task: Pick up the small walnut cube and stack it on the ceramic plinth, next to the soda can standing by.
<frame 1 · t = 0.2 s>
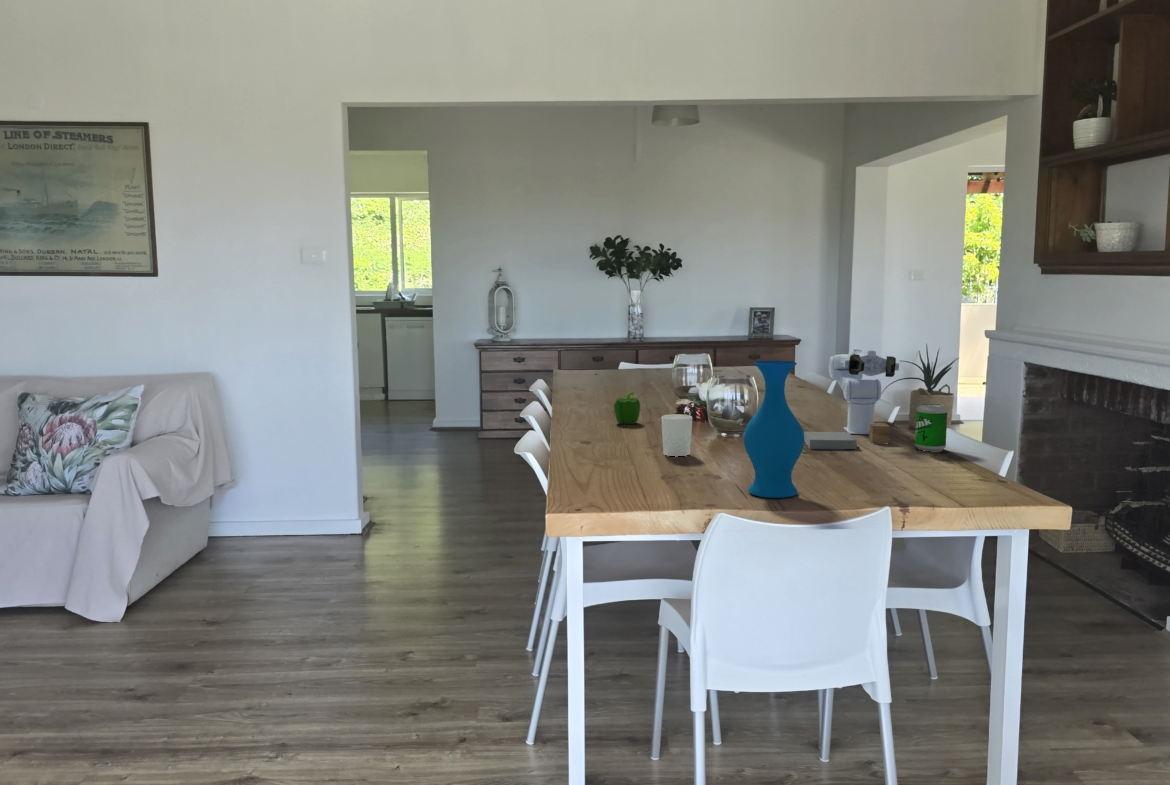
hand: (877, 367, 233), 21 cm above the table, tool horizontal, fingers open, 7 cm apart
bell pepper: (628, 424, 274), on the table
white cup: (676, 455, 226), on the table
soda can: (930, 450, 229), on the table
plinth: (829, 444, 237), on the table
vase: (772, 494, 185), on the table
walnut cube: (878, 442, 240), on the table
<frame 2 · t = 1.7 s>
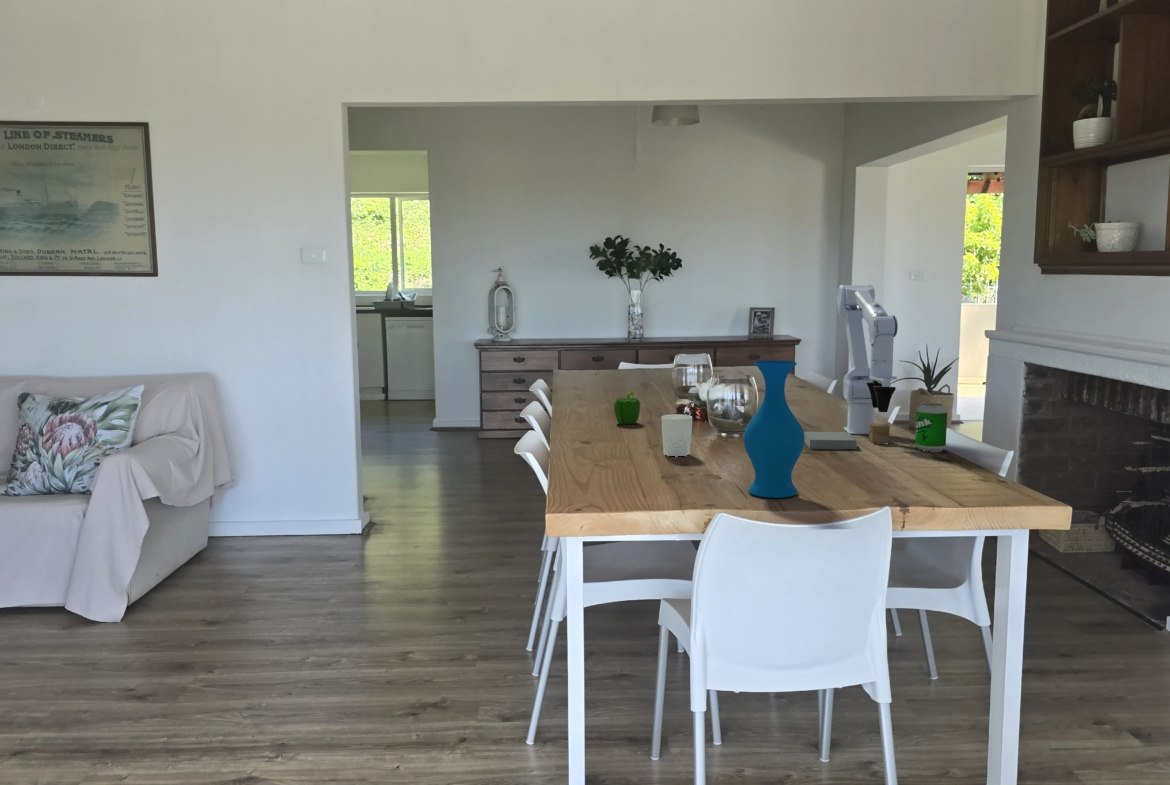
hand: (879, 409, 239), 9 cm above the table, tool pointing down, fingers open, 7 cm apart
nothing on the table moved.
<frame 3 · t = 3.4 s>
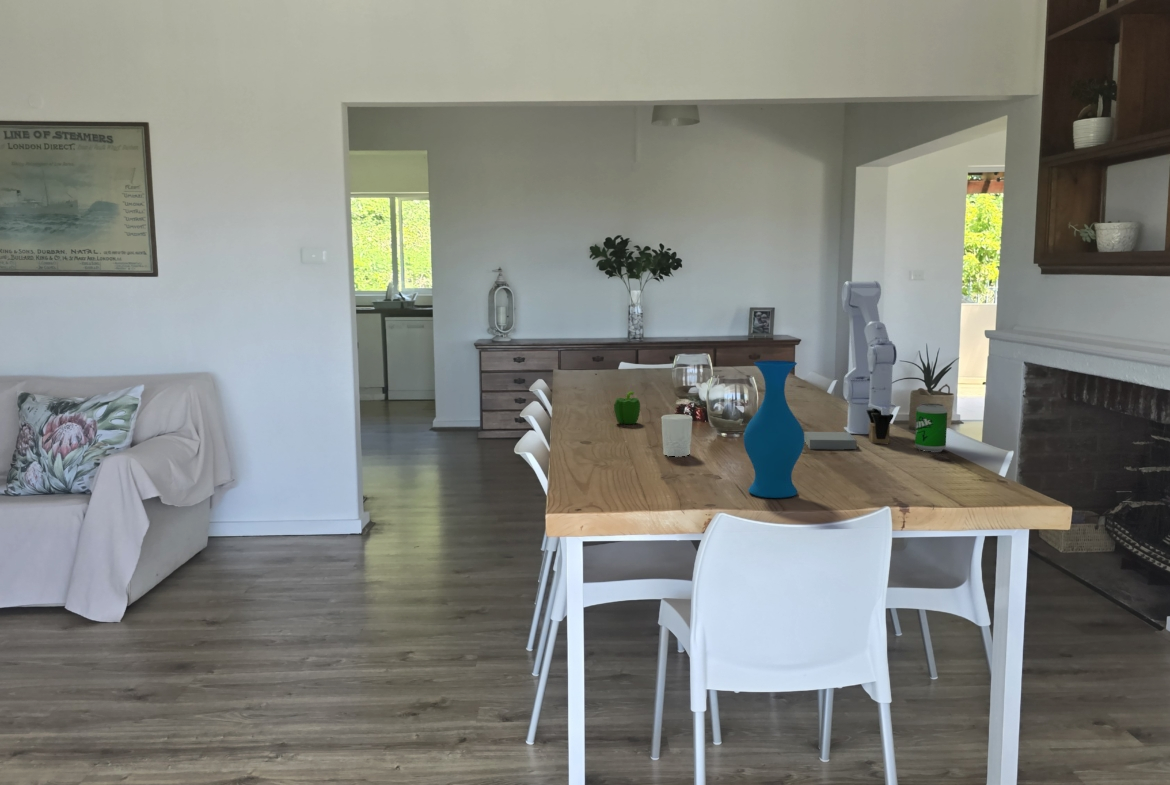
hand: (878, 437, 240), 1 cm above the table, tool pointing down, fingers closed on walnut cube, 4 cm apart
walnut cube: (878, 442, 240), on the table, touching gripper
everything else where it was.
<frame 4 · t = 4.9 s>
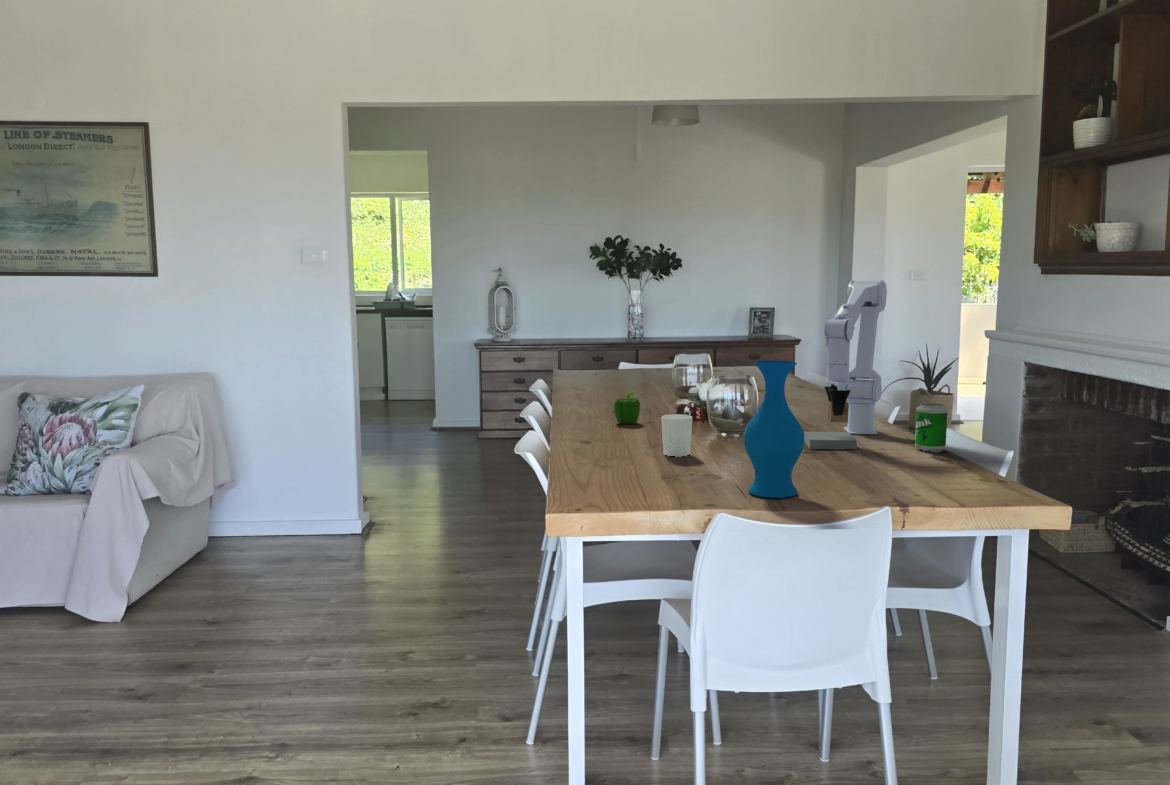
hand: (836, 413, 236), 9 cm above the table, tool pointing down, fingers closed on walnut cube, 4 cm apart
walnut cube: (837, 420, 236), point 7 cm above the table, touching gripper
everything else where it was.
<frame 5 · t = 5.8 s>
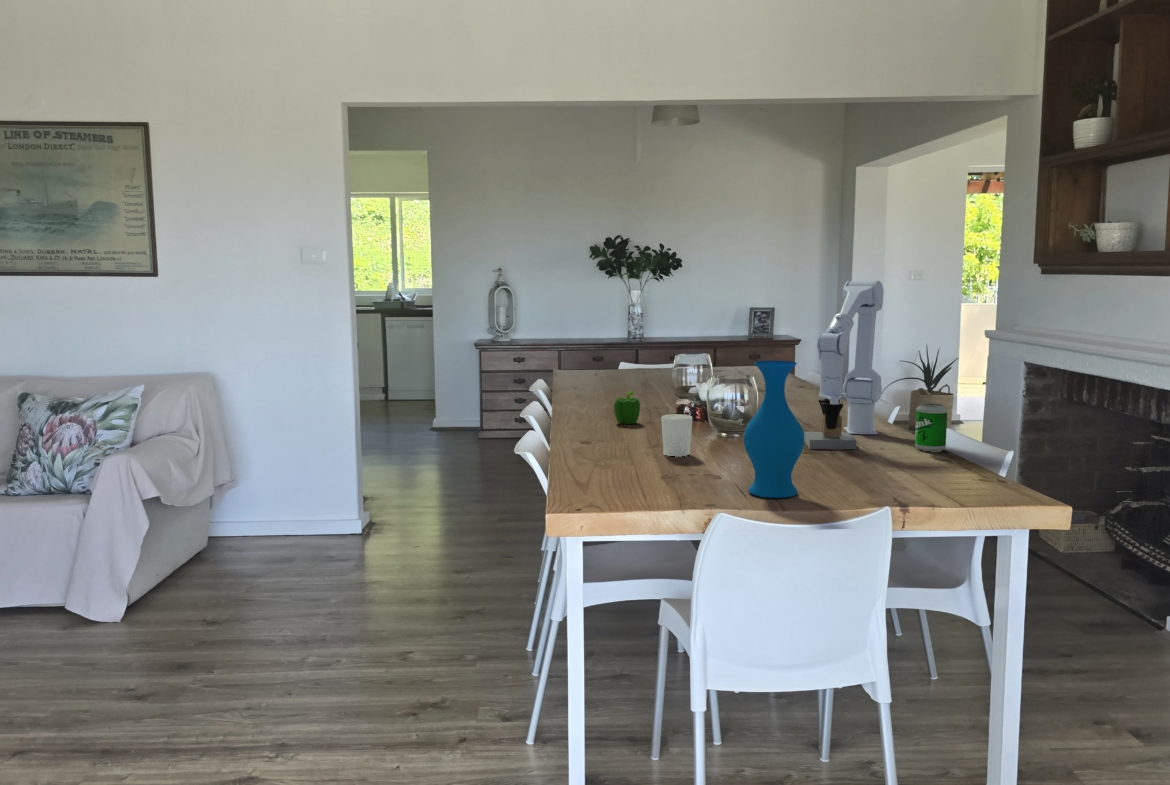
hand: (829, 427, 236), 5 cm above the table, tool pointing down, fingers closed on walnut cube, 4 cm apart
walnut cube: (831, 434, 236), point 3 cm above the table, touching gripper
everything else where it was.
when the fingers open (5 cm above the table, at t = 6.6 s): walnut cube stays where it is, resting on plinth.
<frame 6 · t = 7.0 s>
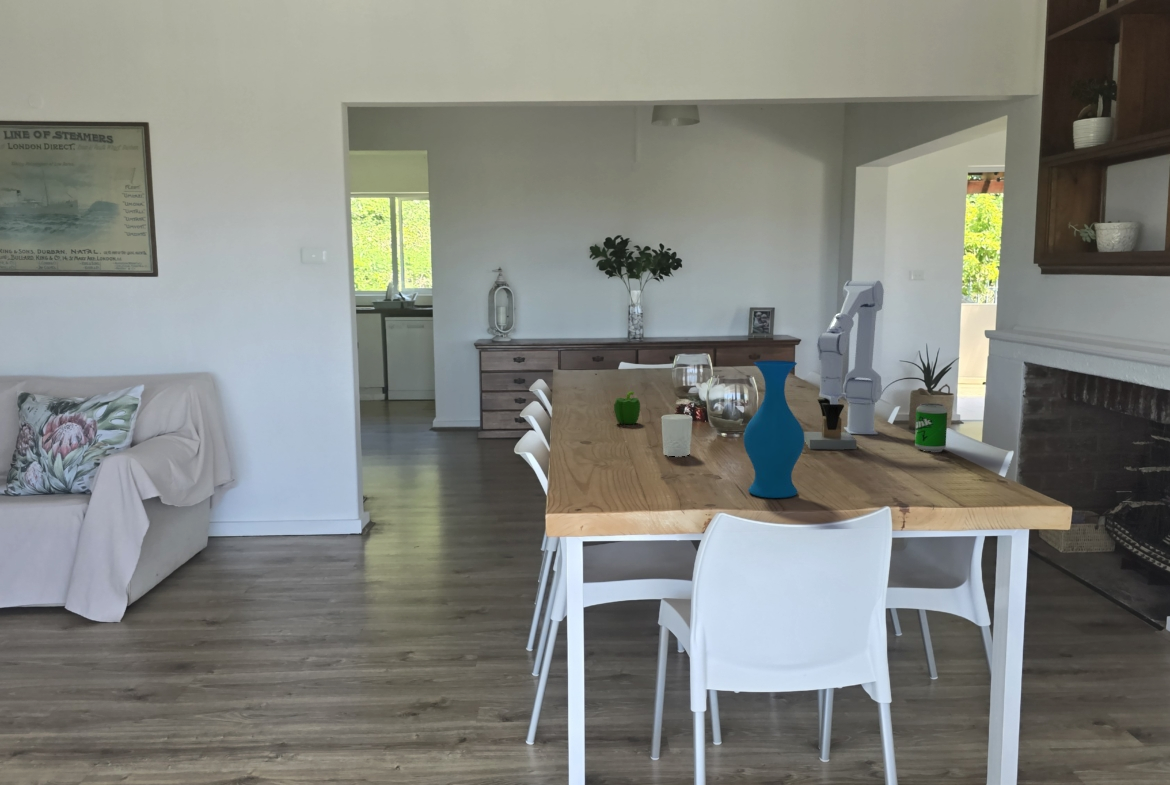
hand: (829, 427, 236), 5 cm above the table, tool pointing down, fingers open, 7 cm apart
walnut cube: (831, 435, 236), point 2 cm above the table, touching plinth
everything else where it was.
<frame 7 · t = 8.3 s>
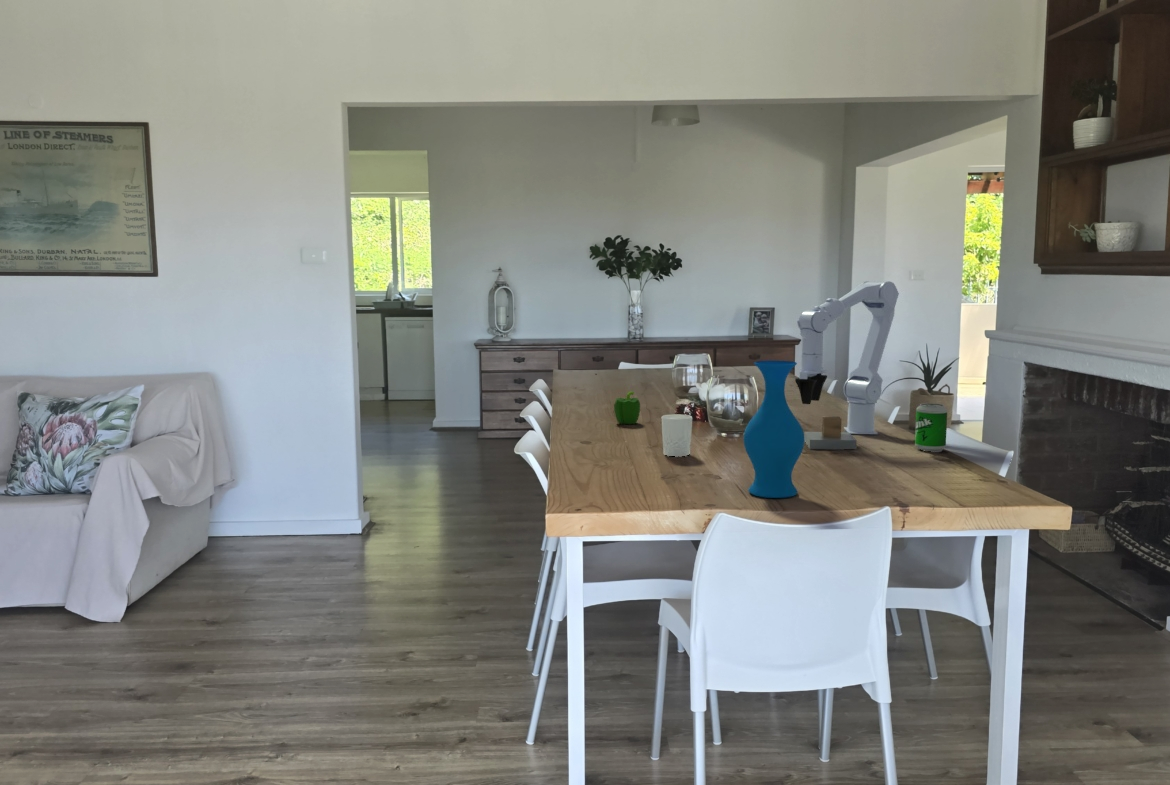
hand: (810, 402, 245), 10 cm above the table, tool pointing down, fingers open, 7 cm apart
nothing on the table moved.
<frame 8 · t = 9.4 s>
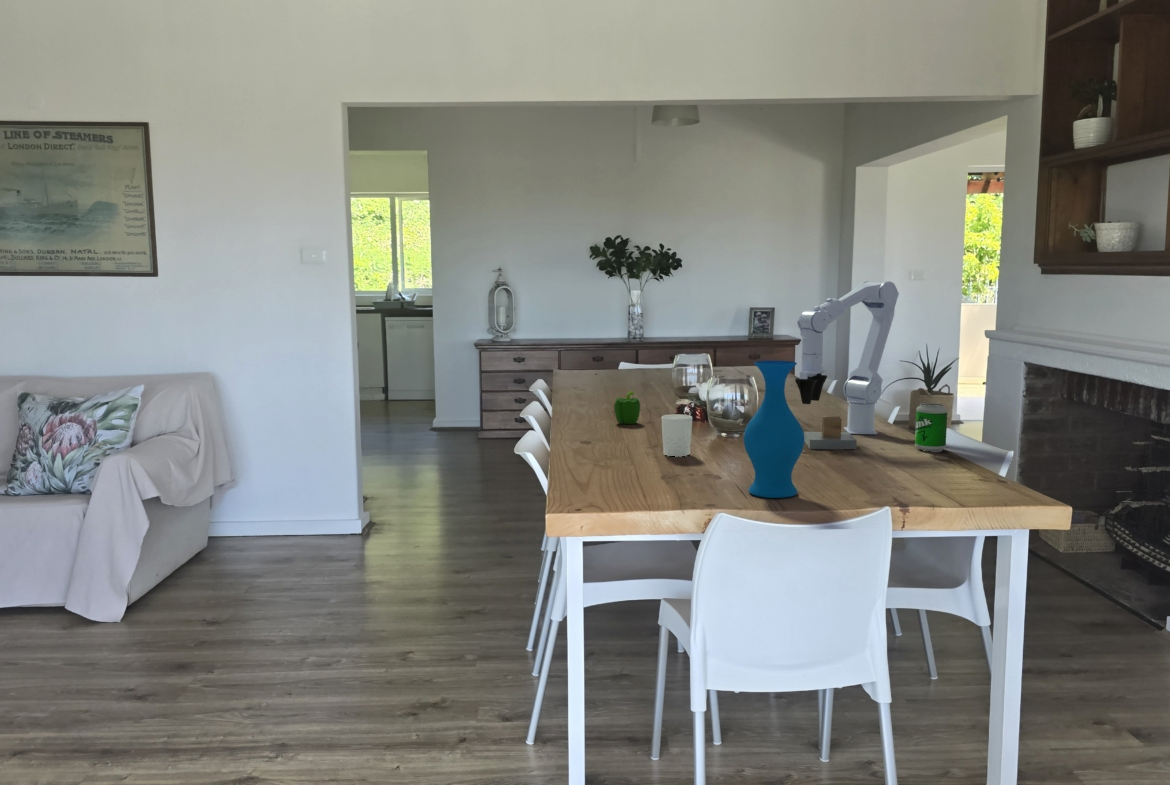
hand: (810, 402, 245), 10 cm above the table, tool pointing down, fingers open, 7 cm apart
nothing on the table moved.
at the end: walnut cube inside the target area on the plinth (0.4 cm from its centre), point 2.5 cm above the plinth's base; walnut cube tilted 0°; walnut cube touching plinth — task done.
